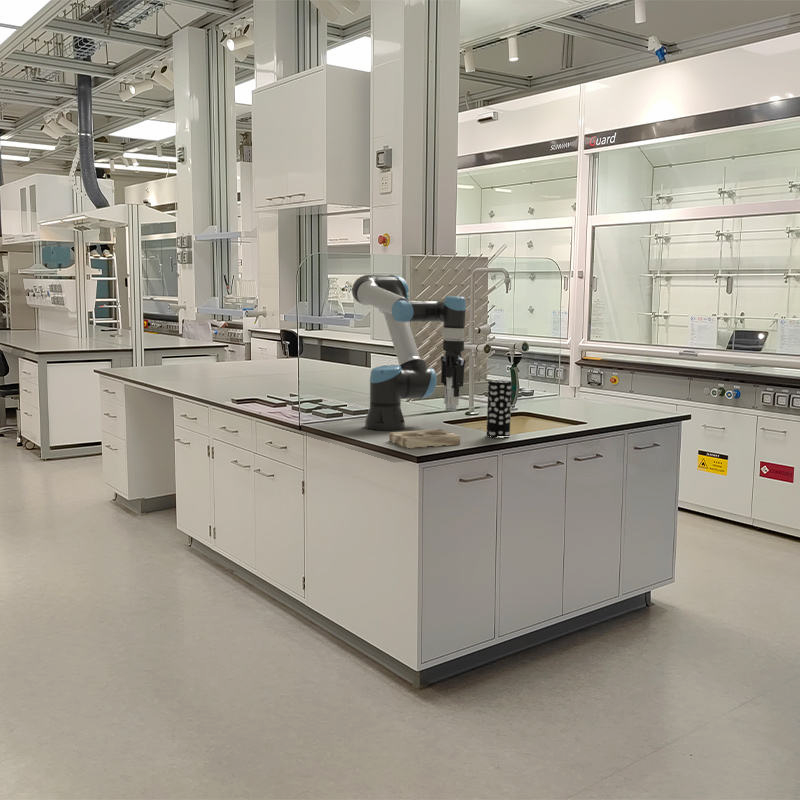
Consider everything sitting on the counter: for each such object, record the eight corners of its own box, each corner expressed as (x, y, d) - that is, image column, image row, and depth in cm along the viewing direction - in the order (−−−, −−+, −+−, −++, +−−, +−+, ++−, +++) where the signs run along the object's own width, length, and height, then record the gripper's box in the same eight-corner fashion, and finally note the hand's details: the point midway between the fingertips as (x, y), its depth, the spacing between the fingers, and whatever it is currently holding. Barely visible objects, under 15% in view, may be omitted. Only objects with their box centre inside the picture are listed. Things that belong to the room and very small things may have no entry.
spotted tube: (511, 438, 283) (514, 383, 280) (488, 438, 282) (490, 382, 280) (506, 434, 291) (508, 380, 289) (484, 434, 291) (486, 380, 288)
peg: (443, 409, 287) (444, 376, 285) (452, 409, 289) (454, 376, 287) (449, 411, 284) (450, 378, 282) (458, 410, 285) (459, 377, 284)
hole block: (389, 441, 273) (389, 432, 273) (439, 437, 283) (439, 429, 282) (408, 448, 261) (408, 439, 261) (460, 444, 270) (460, 435, 270)
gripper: (475, 341, 277) (472, 407, 280) (450, 337, 292) (448, 400, 295) (457, 341, 273) (454, 408, 277) (432, 338, 288) (430, 401, 292)
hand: (451, 404), depth 286 cm, fingers closed on peg, 4 cm apart
